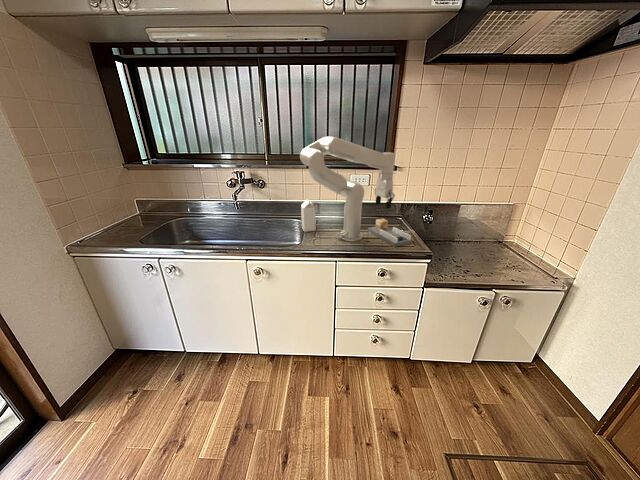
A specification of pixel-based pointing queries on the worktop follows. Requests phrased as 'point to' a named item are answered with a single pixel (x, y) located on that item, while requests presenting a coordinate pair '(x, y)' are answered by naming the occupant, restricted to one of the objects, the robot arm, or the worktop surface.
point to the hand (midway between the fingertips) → (382, 206)
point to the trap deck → (391, 236)
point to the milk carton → (308, 216)
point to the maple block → (381, 224)
